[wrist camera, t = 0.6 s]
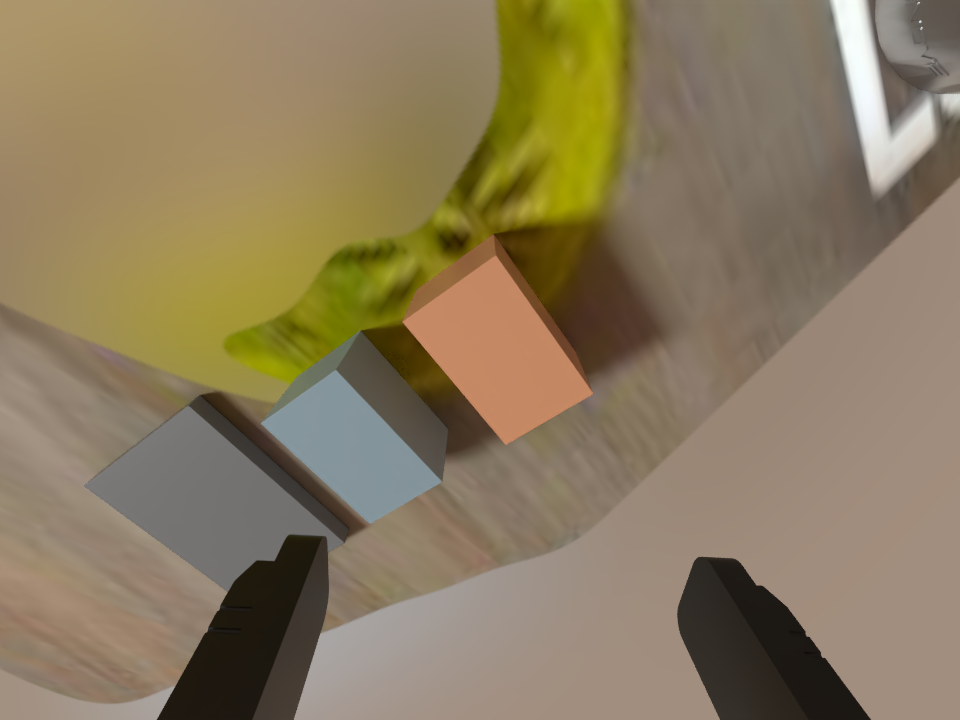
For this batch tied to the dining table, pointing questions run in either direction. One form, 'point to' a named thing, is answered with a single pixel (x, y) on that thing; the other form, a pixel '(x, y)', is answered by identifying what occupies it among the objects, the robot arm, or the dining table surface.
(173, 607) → the dining table surface
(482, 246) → the terracotta brick
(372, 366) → the slate brick
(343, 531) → the baseplate
